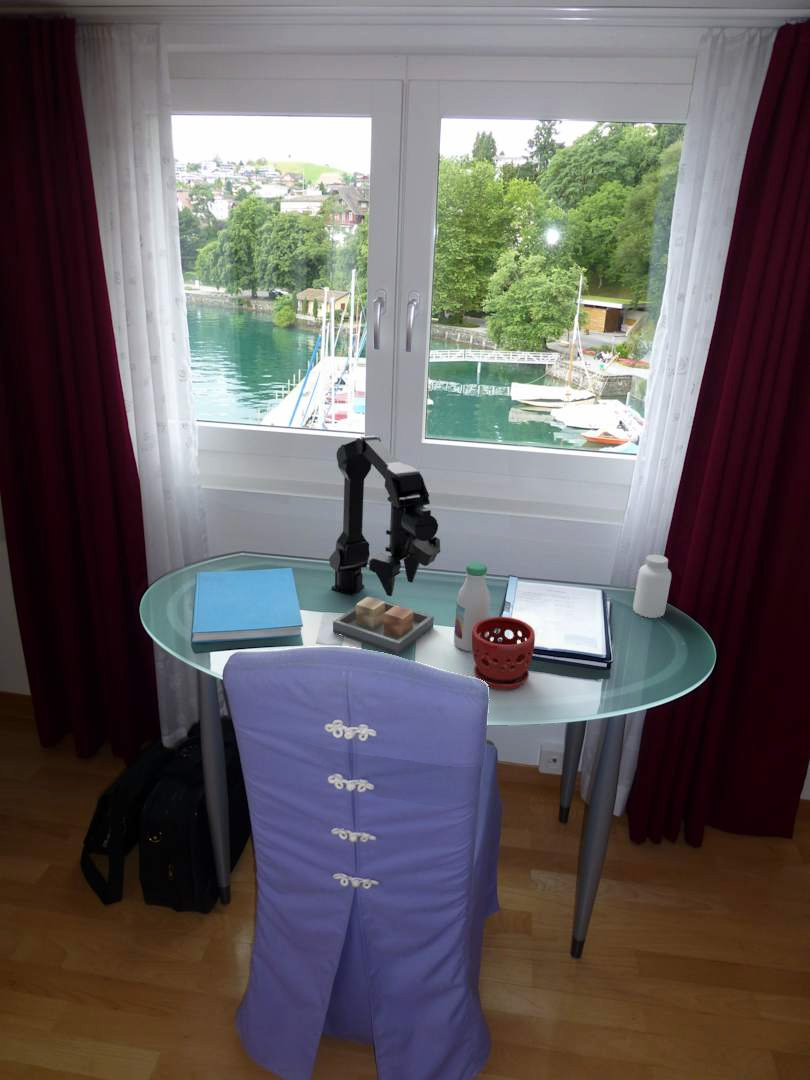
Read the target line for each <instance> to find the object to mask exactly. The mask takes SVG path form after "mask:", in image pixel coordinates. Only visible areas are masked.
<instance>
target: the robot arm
mask: <svg viewBox="0 0 810 1080" xmlns="http://www.w3.org/2000/svg"><path fill="white" fill-rule="evenodd" d="M336 460H337V465H338V466H337V468H338V469H339V470H340V472H341V473H342V476H343V477H344V478H343V479H344V482H343V483H344V488H343V516H342V517H343V522H342V528H343V529H342V532H341V534H340V535H339V537H338V538H337V540H336V542H335V543H336V544H335V550H334V551H333V553H331V555H330V556H329V566H330V567H331V568H332V569H333V571H334V585H331V587H330V588H332V589H331V590H333V589H334V591H337V592H340V593H342V594H346V595H349V596H352V595H354V594H356V593H357V592H358V591H360V590H362V589H364V588H365V584H363V579H364V578H363V573H362V568H363V569H364V568H367V565H368V570H369V571H372V572H373V573H374V574H375V576H377V578H378V580H379V581H380V583H381V586H382V587H383V589H384V592H385V594H386V596H387V597H392V596H393V594H394V593H393V592H394V587H395V581H396V580H395V579H396V577H398V575H400V574H401V571H400V569H401V568H402V567H401V566H402V563H401V562H402V561H403V564H404V569H405V570H404V571H405V576H406V578H407V582H408V583H414V579H415V577H416V574H417V572H418V568H419V566H420V565H421V566H424V567H427V566H429V565H430V564H431V563H433V562H435V559H436V558H437V555H439V553H441V539H440V538H438V537H437V536H436V535H437V532H438V531H439V530H438V529H439V524H438V520H437V519H436V517H434V516H433V515H432V511H431V509H429V508H427V507H424V506H427V505H430V504H431V503H430V498H429V497H430V494H429V491H428V490H427V489H428V488H427V487H426V484H425V479H424V478H423V477H424V476H423V475H422V474H421V472H420V471H419V470H418V469H416V468H415V467H413V466H412V465H409V464H405V463H402V462H401V461H399V459H398V458H397V457H396V456H395V455H394V454H393V453H392V452H391V451H390V450H389V449H388V448H387V447H386V446H385V445H384V443H382V440H381V438H380V436H378V435H367V436H366V435H365V436H360V437H358V438H356V439H355V440H353V441H351V442H348V443H344V444H341V445H340V447H338V448H337V451H336ZM372 466H373V467H374V468H375V469H376V470H377V472H378V473H379V474H380V475H381V476H382V477H383V478H384V488H385V490H386V491H387V494H388V497H387V501H388V502H390V519H389V521H390V524H389V528H387V529H386V530H385V531H386V533H385V534H386V535H389V545H387V546H385V552H388V553H390V555H387V554H383V553H379V554H377V555H376V556H374V557H373V558H371V559H369V558H370V543H369V541H367V539H366V537H365V536H364V535H363V523H364V522H363V520H364V497H365V496H364V493H365V490H364V489H365V479H366V477H367V476H368V474H369V473H370V472H371V470H372ZM417 496H418V497H417ZM408 497H409V498H408Z"/></svg>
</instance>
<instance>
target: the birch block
mask: <svg viewBox="0 0 810 1080" xmlns="http://www.w3.org/2000/svg"><path fill="white" fill-rule="evenodd" d="M374 598H375V597H372V598H370V596H366V597H365V598H363V599H362V600H360V601H359V602H357V603H355V607H356V619H355V623H357V624H360V625H363V626H366V627H369V628H372V629H373V628H375V627H376V626H378V625H379V624H380V623H382V622H383V621H384V613H385V602H386V601H385V602H383V601H384V600H382V601H380V600H381V599H379V600H377V599H378V598H376V599H374Z"/></svg>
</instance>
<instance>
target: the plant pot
mask: <svg viewBox="0 0 810 1080" xmlns="http://www.w3.org/2000/svg"><path fill="white" fill-rule="evenodd" d="M496 629H498V630H499V632H495V630H496ZM506 631H510V632H512V634H513V635H512V638H508V637H507V636H506V634H505V633H506ZM486 632H488V636H487V637H485V633H486ZM518 632H520V633H521V636H520V635H519V633H518ZM479 633H480V636H479ZM535 636H536V634H535V630H534V628H533V627H532V626H531V625H530V624H529V623H527V622H525V621H523V620H520V619H517V618H513V617H509V616H508V617H507V616H493V617H489V618H487V619H484V620H481V621H479V622H477V623H476V624H475V625H474V627H473V630H472V650H473V651H472V656H473V660H474V663H475V667H474V675H475V676H476V679H478V678H479V679H481V680H483V681H485V682H486V683H487V684H488V685H489V687H488V688H490V689H491V688H492V689H495V688H496V690H502V689H507V690H513V689H517V688H519V687H521V686H523V685H524V684H525V683H526V682H527V681H528V679H529V677H530V673H529V669H528V668H529V666H530V664H531V662H532V660H533V659H532V658H533V654H534V650H535V642H536V639H535ZM491 638H493V640H491ZM499 639H502V640H501V641H499ZM518 641H520V642H519V643H518Z"/></svg>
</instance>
